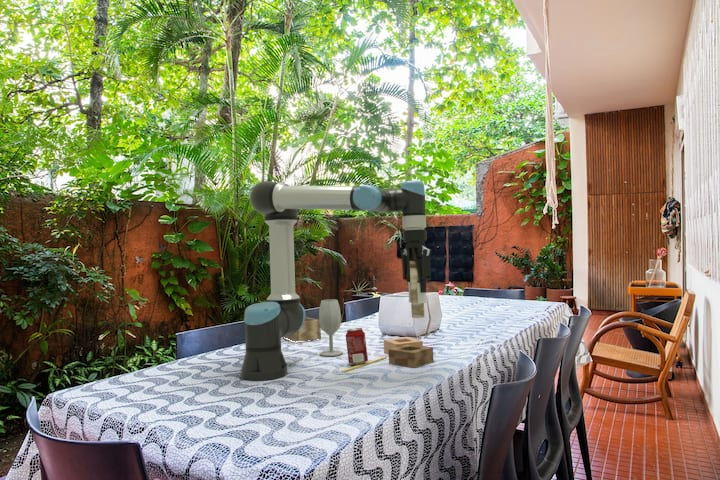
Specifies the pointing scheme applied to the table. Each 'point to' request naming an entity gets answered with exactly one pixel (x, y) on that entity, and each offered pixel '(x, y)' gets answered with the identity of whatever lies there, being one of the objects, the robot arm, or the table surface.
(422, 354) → the brown holed block
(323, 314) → the wineglass
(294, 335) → the fruit crate
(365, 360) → the soda can
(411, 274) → the beige banded cylinder
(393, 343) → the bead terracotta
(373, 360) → the thin yellow stick
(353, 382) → the table surface
